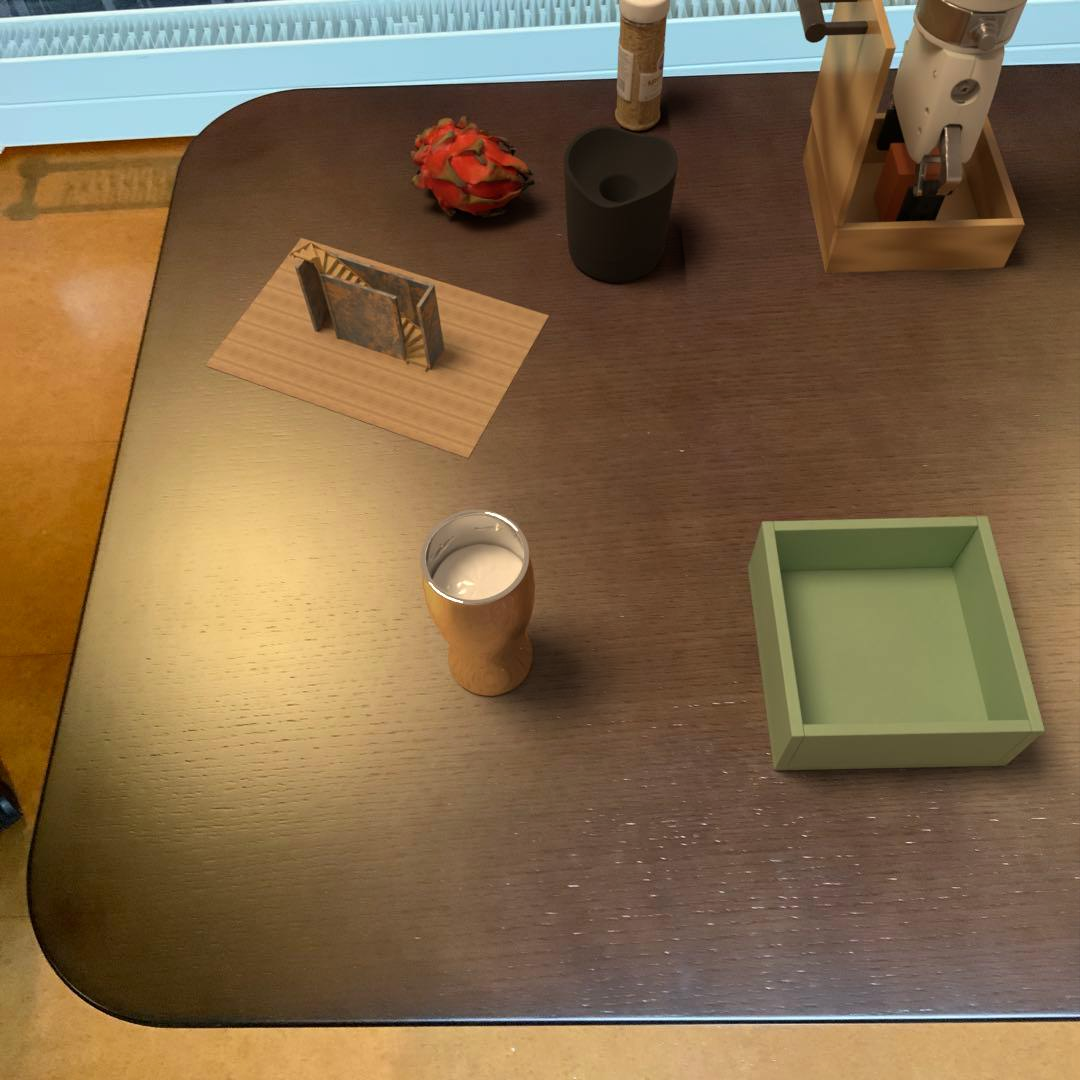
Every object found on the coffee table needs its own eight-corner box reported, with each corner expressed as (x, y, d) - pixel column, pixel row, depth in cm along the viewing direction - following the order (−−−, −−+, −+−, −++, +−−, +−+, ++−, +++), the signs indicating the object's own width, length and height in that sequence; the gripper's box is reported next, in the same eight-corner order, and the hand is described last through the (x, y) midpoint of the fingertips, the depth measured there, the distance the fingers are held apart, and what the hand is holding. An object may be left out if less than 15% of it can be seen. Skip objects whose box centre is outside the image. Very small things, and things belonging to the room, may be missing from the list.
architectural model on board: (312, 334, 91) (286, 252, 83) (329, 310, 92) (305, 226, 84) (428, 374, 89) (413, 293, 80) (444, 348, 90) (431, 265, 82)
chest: (964, 161, 100) (985, 109, 95) (1000, 274, 93) (1025, 224, 88) (800, 166, 100) (813, 114, 95) (823, 279, 93) (838, 229, 88)
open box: (956, 563, 78) (987, 515, 72) (1005, 765, 71) (1045, 731, 65) (747, 567, 79) (761, 520, 73) (773, 770, 71) (791, 736, 65)
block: (916, 195, 97) (936, 141, 92) (925, 226, 95) (946, 173, 90) (873, 196, 97) (890, 142, 92) (881, 227, 95) (899, 174, 90)
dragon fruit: (412, 192, 102) (527, 233, 101) (383, 201, 94) (507, 245, 94) (434, 101, 98) (554, 143, 98) (405, 103, 91) (534, 149, 90)
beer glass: (427, 684, 74) (397, 586, 62) (464, 601, 78) (443, 492, 65) (518, 715, 73) (508, 622, 60) (552, 630, 76) (549, 524, 63)
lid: (861, -72, 81) (792, -70, 81) (896, 47, 73) (820, 50, 73) (817, 110, 95) (759, 112, 95) (843, 225, 88) (779, 227, 88)
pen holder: (631, 199, 99) (637, 108, 90) (688, 261, 94) (700, 172, 86) (545, 237, 96) (542, 148, 88) (599, 303, 92) (602, 215, 84)
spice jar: (659, 133, 103) (671, 4, 91) (613, 132, 103) (618, 3, 92) (660, 103, 105) (671, -27, 94) (614, 102, 106) (620, -28, 94)
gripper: (1049, 79, 74) (966, 256, 89) (993, -63, 83) (926, 120, 98) (943, 81, 74) (877, 257, 89) (898, -62, 83) (845, 121, 98)
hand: (903, 185), depth 93 cm, fingers open, 9 cm apart
